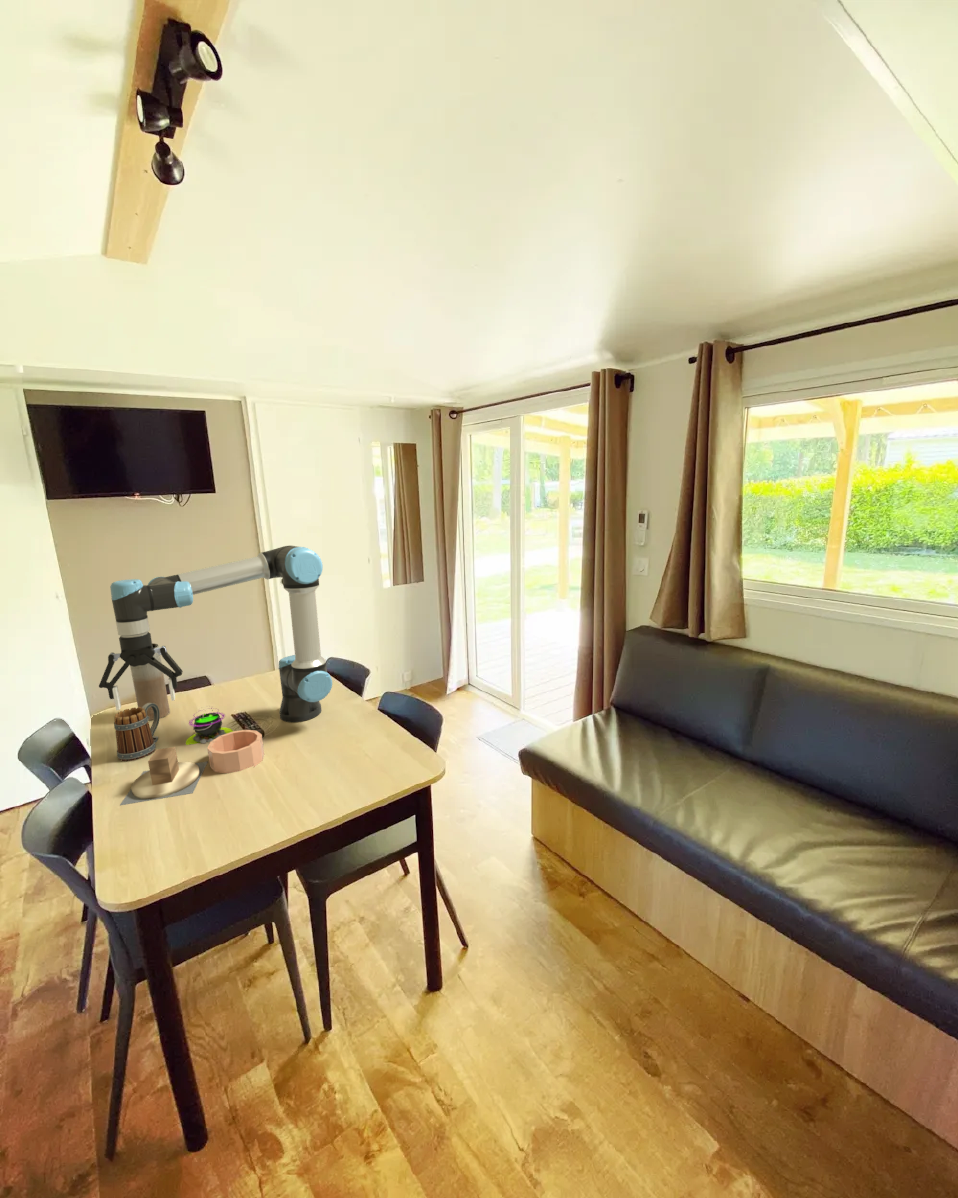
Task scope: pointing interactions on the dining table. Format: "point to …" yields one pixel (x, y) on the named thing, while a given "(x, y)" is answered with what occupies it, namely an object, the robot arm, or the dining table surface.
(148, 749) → the mug
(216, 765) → the bowl
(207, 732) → the toy cauldron
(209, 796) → the dining table surface
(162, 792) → the lid
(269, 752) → the dining table surface
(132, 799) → the mat
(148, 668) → the vase
